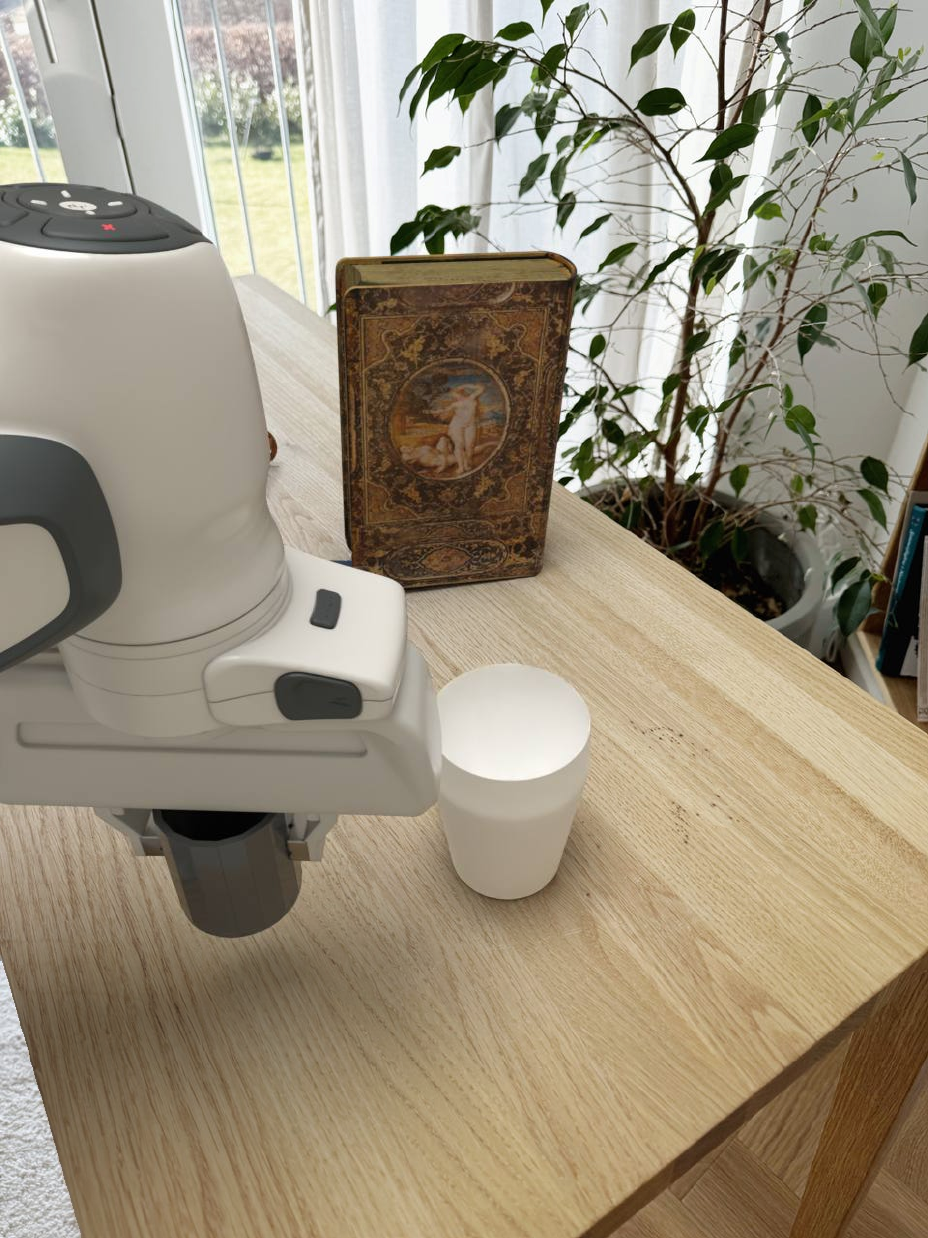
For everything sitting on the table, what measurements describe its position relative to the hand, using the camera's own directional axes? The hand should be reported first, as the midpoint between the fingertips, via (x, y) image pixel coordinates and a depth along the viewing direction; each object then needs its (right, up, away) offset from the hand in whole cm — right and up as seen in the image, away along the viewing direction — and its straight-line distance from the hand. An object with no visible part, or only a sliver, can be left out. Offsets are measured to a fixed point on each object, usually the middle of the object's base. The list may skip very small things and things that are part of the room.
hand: (233, 847), depth 47 cm
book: (+10, +15, +35) cm, 40 cm away
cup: (+14, -4, +13) cm, 19 cm away
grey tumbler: (0, -2, +2) cm, 3 cm away
